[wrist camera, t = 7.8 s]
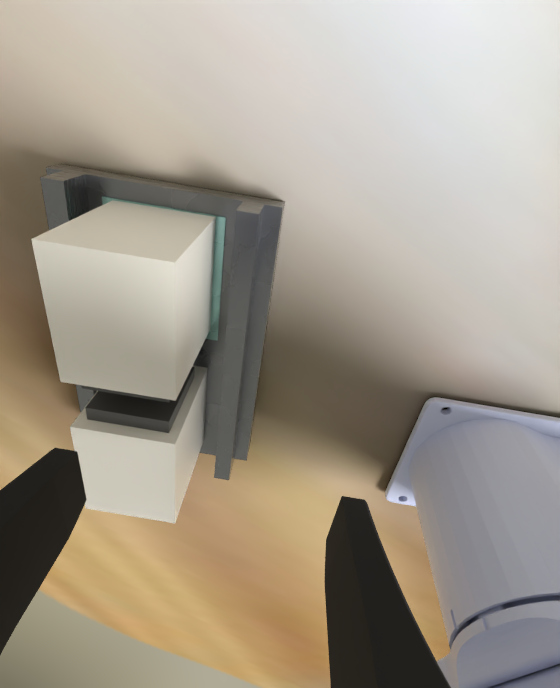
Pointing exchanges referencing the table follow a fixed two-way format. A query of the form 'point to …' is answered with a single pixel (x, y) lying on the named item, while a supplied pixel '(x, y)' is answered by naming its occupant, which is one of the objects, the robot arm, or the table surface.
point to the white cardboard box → (128, 297)
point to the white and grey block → (141, 450)
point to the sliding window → (227, 289)
